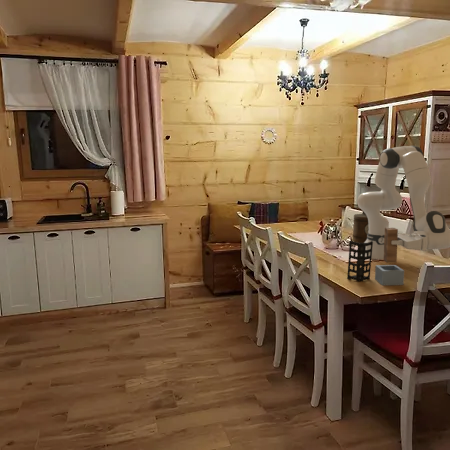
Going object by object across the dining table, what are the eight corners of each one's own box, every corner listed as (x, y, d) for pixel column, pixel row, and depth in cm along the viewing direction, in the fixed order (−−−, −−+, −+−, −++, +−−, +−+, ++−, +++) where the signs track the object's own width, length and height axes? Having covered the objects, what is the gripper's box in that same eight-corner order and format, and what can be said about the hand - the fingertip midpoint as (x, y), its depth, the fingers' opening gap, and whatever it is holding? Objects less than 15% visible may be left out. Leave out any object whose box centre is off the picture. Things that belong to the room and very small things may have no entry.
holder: (367, 276, 212) (369, 238, 207) (373, 282, 205) (375, 243, 199) (345, 277, 212) (347, 239, 206) (350, 283, 205) (352, 244, 199)
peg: (383, 260, 203) (384, 227, 201) (392, 260, 203) (394, 227, 201) (386, 262, 199) (388, 229, 196) (396, 262, 199) (397, 229, 196)
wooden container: (370, 244, 284) (372, 211, 280) (349, 241, 293) (350, 210, 289) (377, 240, 296) (379, 209, 292) (357, 237, 305) (358, 207, 301)
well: (374, 279, 208) (375, 265, 207) (395, 278, 208) (395, 264, 207) (382, 285, 198) (382, 271, 197) (403, 284, 198) (404, 270, 197)
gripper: (409, 229, 209) (381, 230, 209) (428, 238, 189) (397, 238, 189) (408, 242, 210) (380, 242, 210) (427, 251, 190) (396, 252, 190)
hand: (388, 241), depth 199 cm, fingers closed on peg, 4 cm apart
